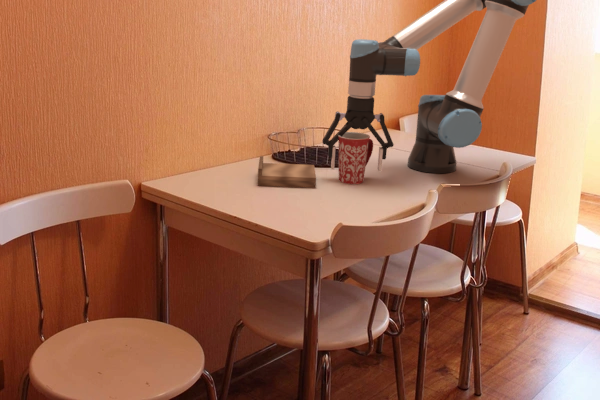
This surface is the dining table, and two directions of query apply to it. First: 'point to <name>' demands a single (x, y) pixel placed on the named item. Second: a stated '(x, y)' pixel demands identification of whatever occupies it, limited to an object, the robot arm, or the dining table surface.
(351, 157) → the mug
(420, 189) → the dining table surface
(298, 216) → the dining table surface
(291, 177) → the dock
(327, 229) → the dining table surface
